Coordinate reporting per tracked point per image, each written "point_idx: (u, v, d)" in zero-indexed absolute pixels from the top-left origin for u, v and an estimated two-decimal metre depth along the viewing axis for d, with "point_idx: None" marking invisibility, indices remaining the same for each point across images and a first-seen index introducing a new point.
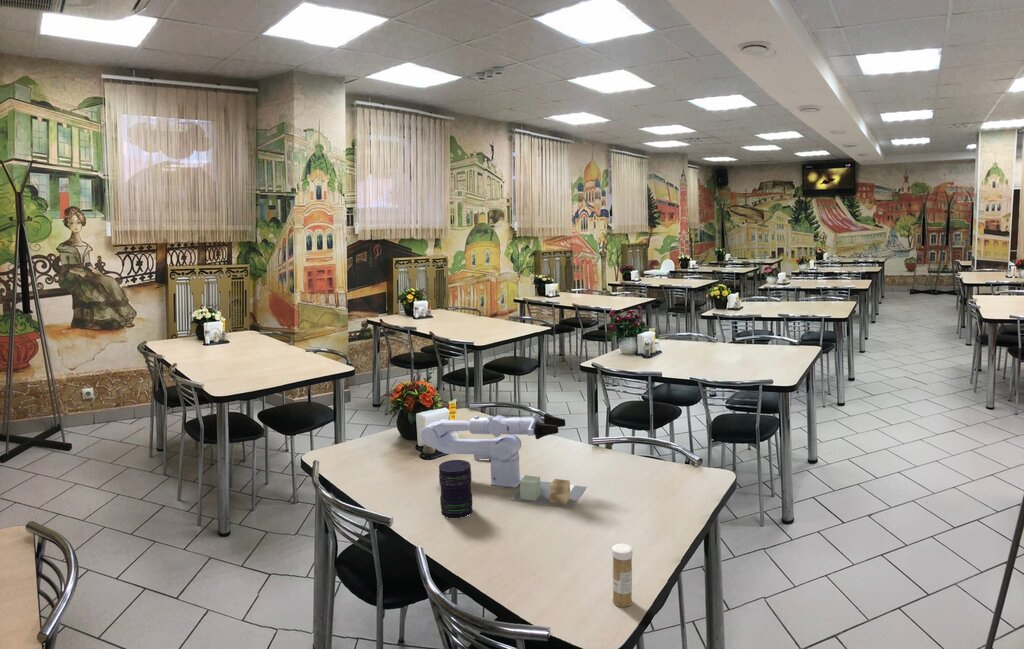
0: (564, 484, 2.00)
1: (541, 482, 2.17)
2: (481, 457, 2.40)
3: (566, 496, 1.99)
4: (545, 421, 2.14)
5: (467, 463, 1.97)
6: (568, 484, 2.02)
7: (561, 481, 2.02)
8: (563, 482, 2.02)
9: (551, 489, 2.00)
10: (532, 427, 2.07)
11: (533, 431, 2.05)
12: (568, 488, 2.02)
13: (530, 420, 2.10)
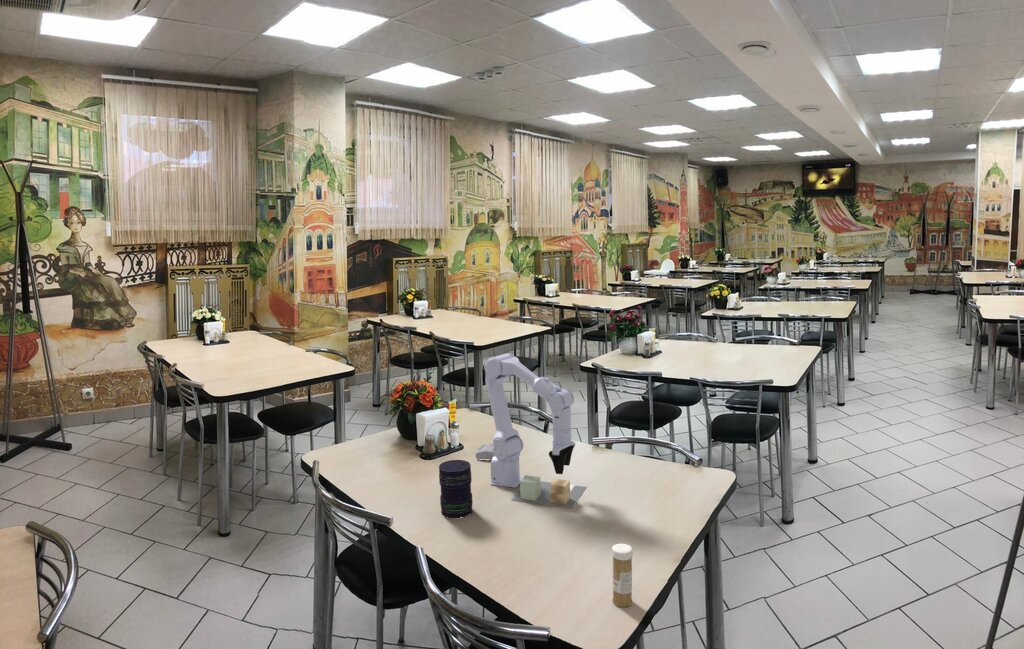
0: (564, 484, 2.00)
1: (541, 482, 2.17)
2: (483, 457, 2.40)
3: (566, 496, 1.99)
4: None
5: (467, 463, 1.97)
6: (568, 484, 2.02)
7: (561, 481, 2.02)
8: (563, 482, 2.02)
9: (551, 489, 2.00)
10: None
11: None
12: (568, 488, 2.02)
13: (567, 441, 2.00)
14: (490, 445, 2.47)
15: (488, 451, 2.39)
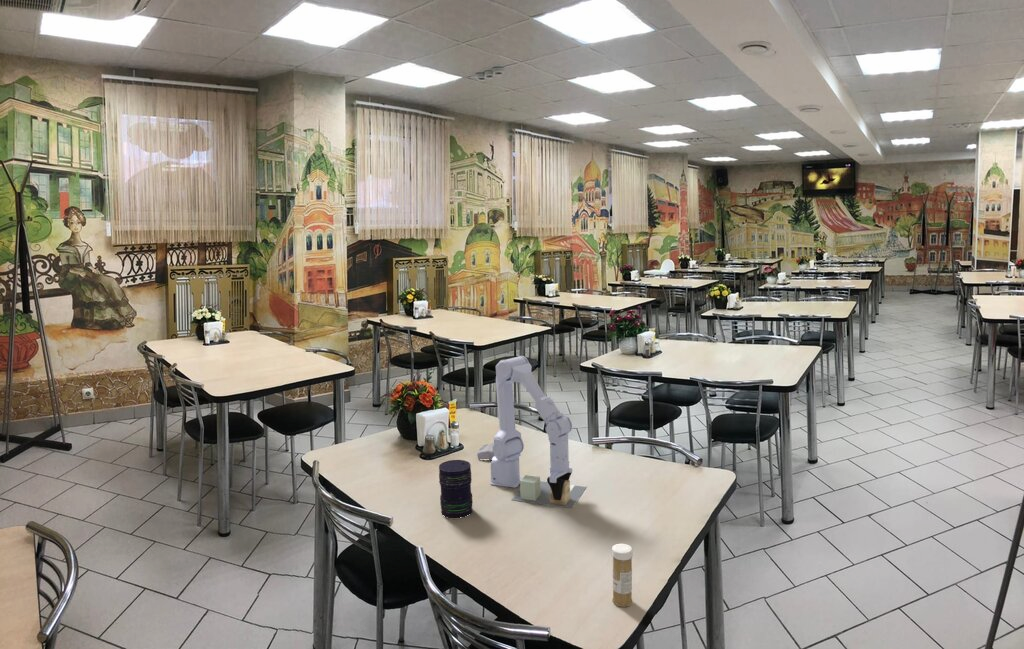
0: (564, 484, 2.00)
1: (541, 482, 2.17)
2: (485, 457, 2.40)
3: (566, 496, 1.99)
4: None
5: (467, 463, 1.97)
6: (568, 484, 2.02)
7: None
8: None
9: None
10: None
11: None
12: (568, 488, 2.02)
13: (565, 468, 1.98)
14: (492, 445, 2.47)
15: (490, 451, 2.39)
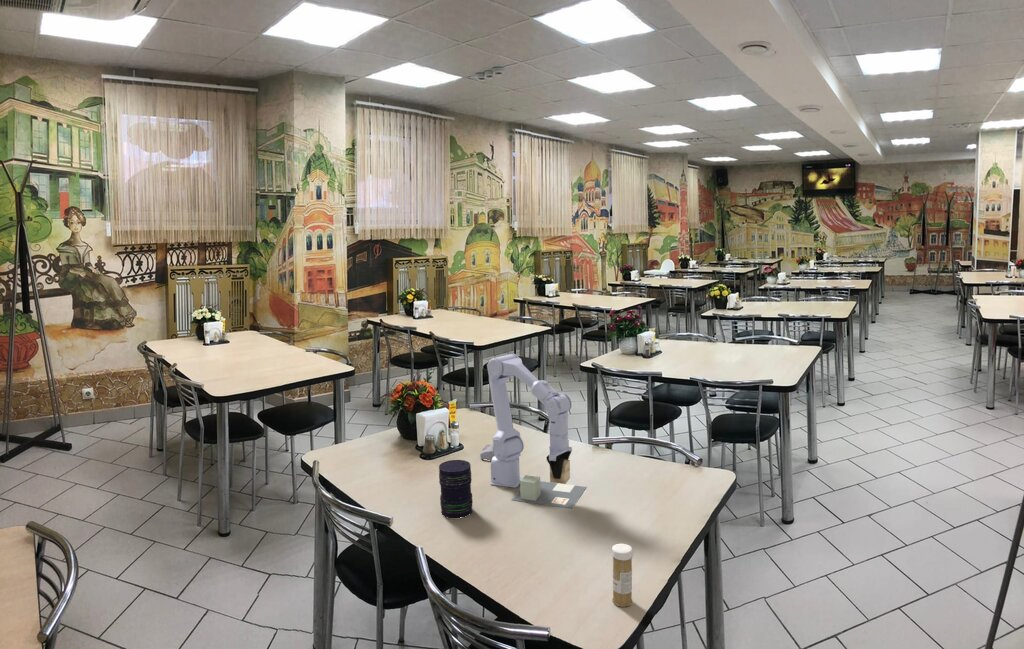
0: (564, 463, 1.99)
1: (541, 482, 2.17)
2: (488, 457, 2.39)
3: (565, 475, 1.98)
4: None
5: (467, 463, 1.97)
6: (568, 463, 2.01)
7: None
8: None
9: None
10: None
11: None
12: (568, 467, 2.01)
13: (564, 446, 1.97)
14: None
15: None
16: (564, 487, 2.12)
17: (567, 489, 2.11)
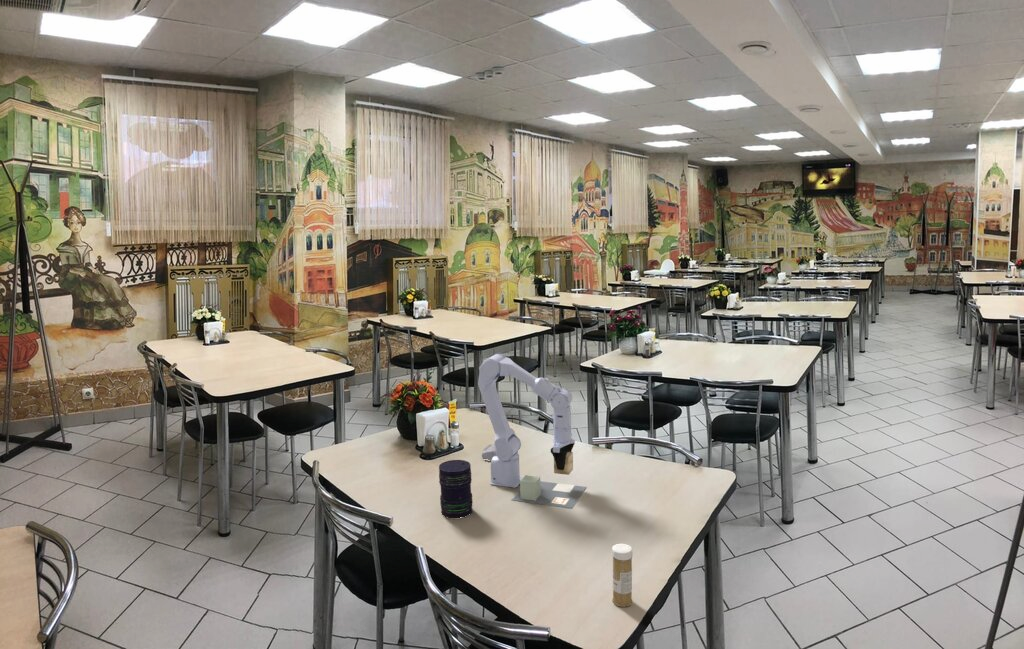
0: (567, 455, 2.09)
1: (541, 482, 2.17)
2: (489, 457, 2.39)
3: (569, 466, 2.08)
4: None
5: (467, 463, 1.97)
6: (571, 455, 2.11)
7: None
8: None
9: None
10: None
11: None
12: (571, 459, 2.11)
13: (568, 439, 2.07)
14: None
15: (494, 451, 2.39)
16: (564, 487, 2.12)
17: (567, 489, 2.11)
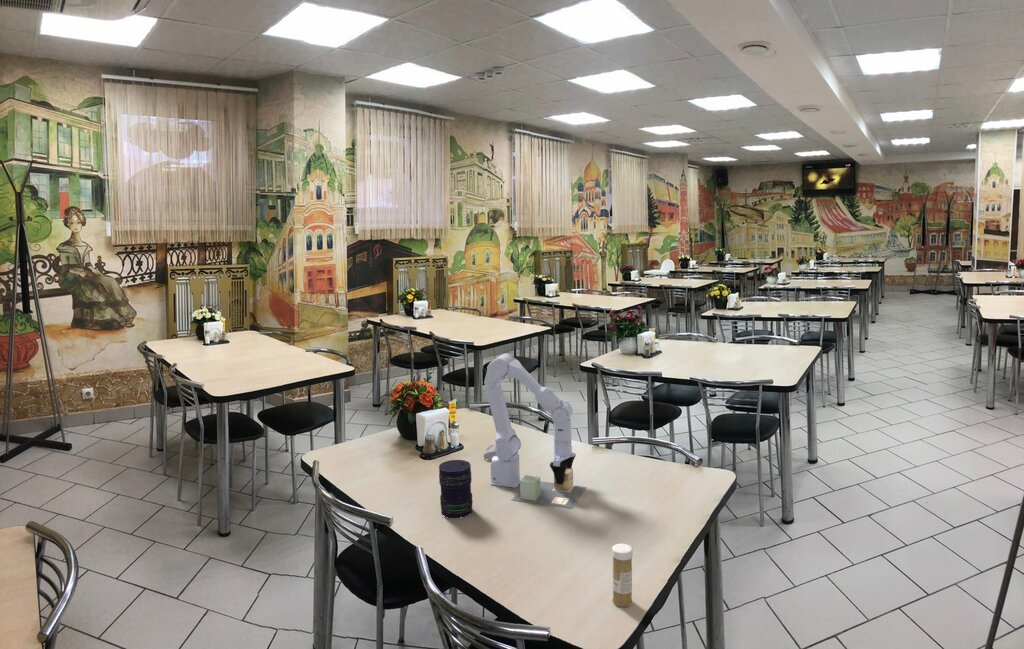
0: (567, 472, 2.10)
1: (541, 482, 2.17)
2: None
3: (569, 483, 2.09)
4: None
5: (467, 463, 1.97)
6: (571, 472, 2.11)
7: None
8: (566, 470, 2.12)
9: None
10: None
11: (557, 465, 2.05)
12: (571, 476, 2.12)
13: (568, 453, 2.08)
14: None
15: None
16: None
17: None
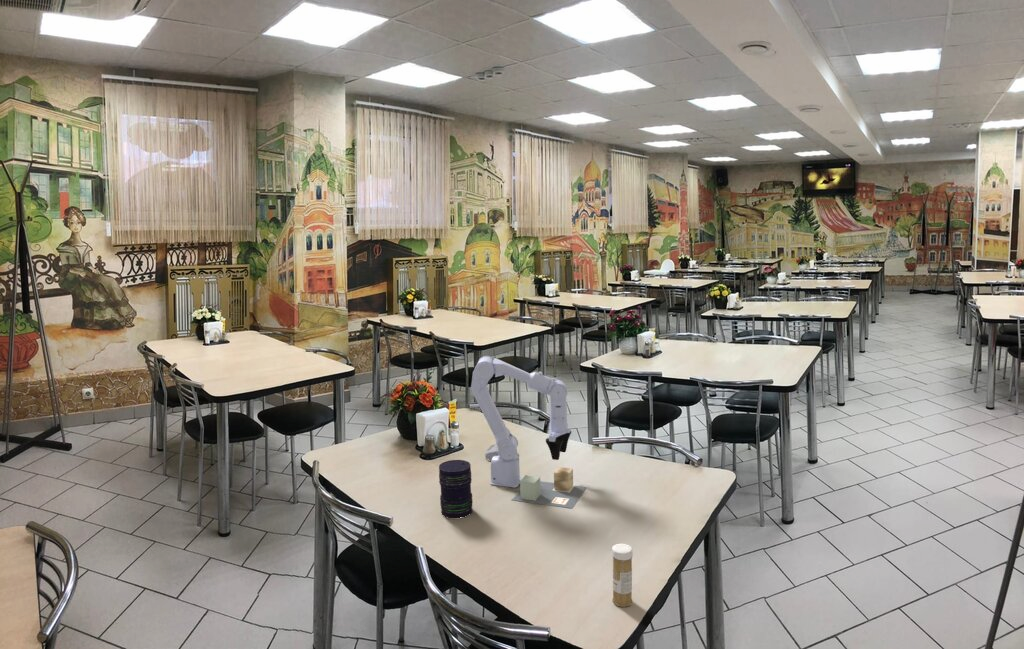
0: (567, 472, 2.10)
1: (541, 482, 2.17)
2: None
3: (569, 483, 2.09)
4: None
5: (467, 463, 1.97)
6: (571, 472, 2.11)
7: (564, 469, 2.12)
8: (566, 470, 2.12)
9: (555, 477, 2.10)
10: None
11: None
12: (571, 476, 2.12)
13: (563, 429, 2.12)
14: None
15: None
16: None
17: None
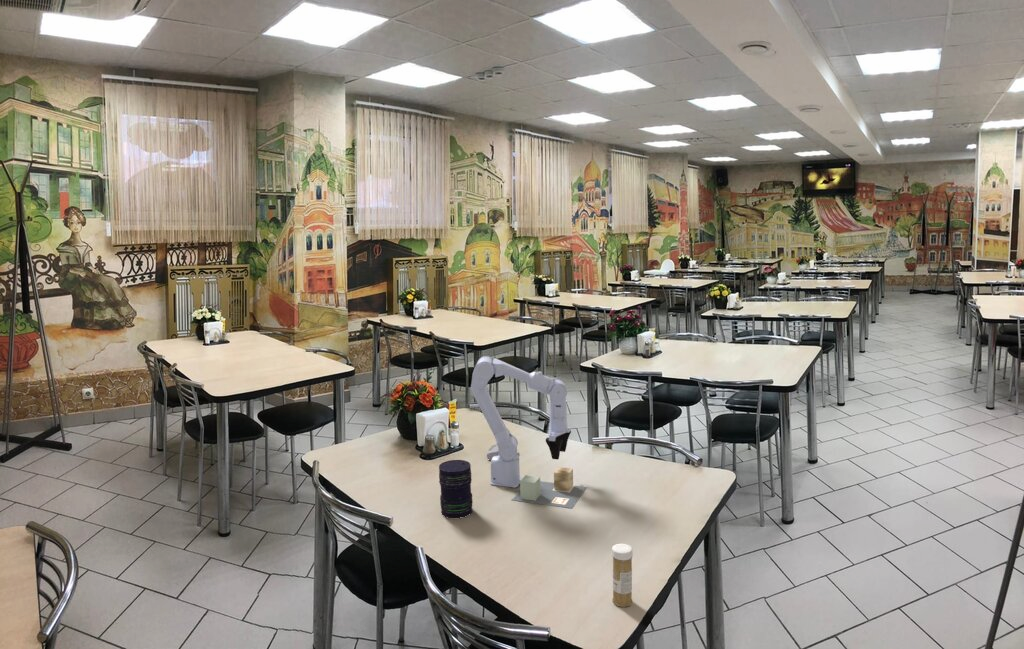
0: (567, 472, 2.10)
1: (541, 482, 2.17)
2: None
3: (569, 483, 2.09)
4: None
5: (467, 463, 1.97)
6: (571, 472, 2.11)
7: (564, 469, 2.12)
8: (566, 470, 2.12)
9: (555, 477, 2.10)
10: None
11: (553, 440, 2.09)
12: (571, 476, 2.12)
13: (563, 428, 2.13)
14: None
15: None
16: None
17: None
